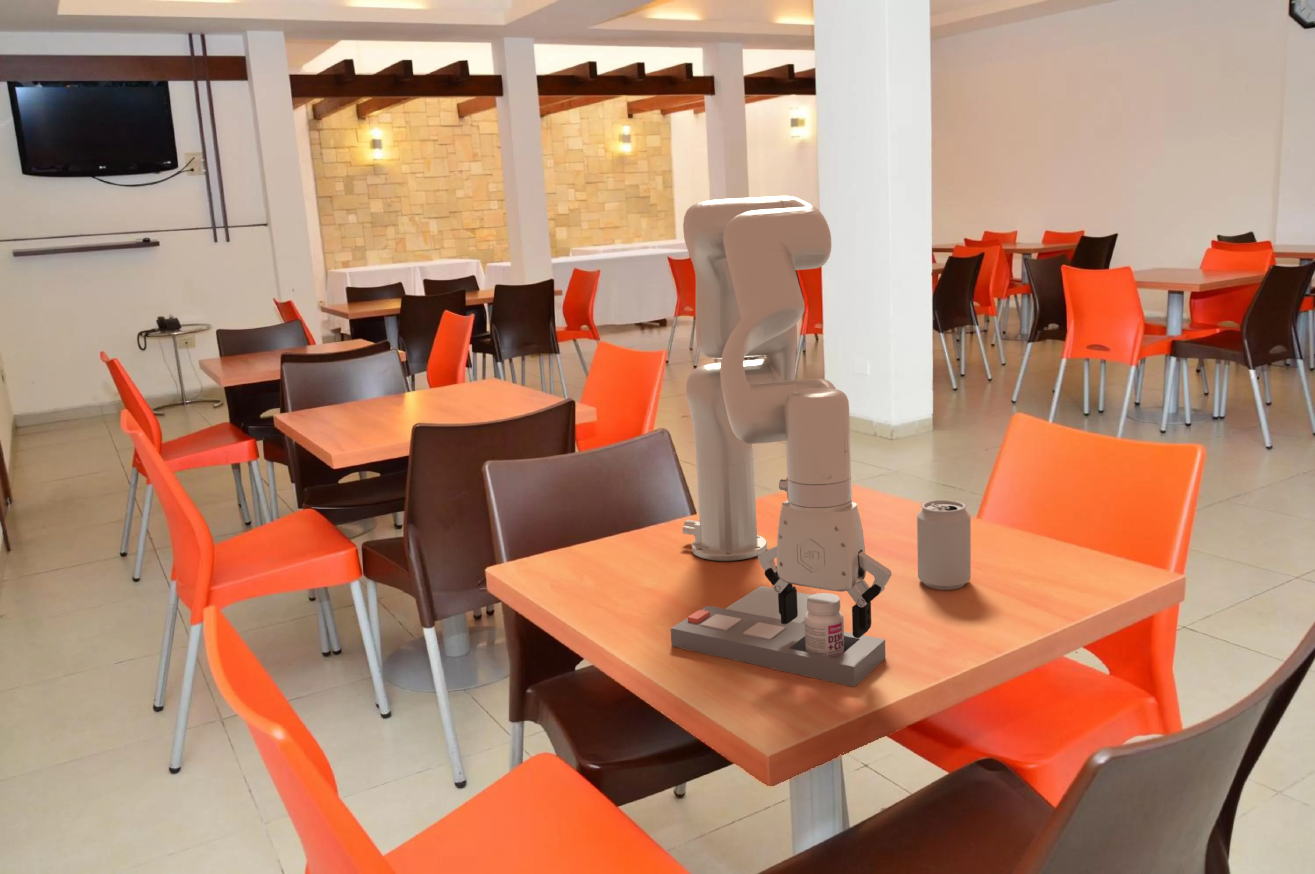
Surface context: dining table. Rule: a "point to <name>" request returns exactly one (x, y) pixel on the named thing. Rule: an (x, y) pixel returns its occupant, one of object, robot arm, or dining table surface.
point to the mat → (768, 604)
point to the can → (944, 544)
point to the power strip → (774, 645)
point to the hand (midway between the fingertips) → (824, 627)
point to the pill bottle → (824, 625)
